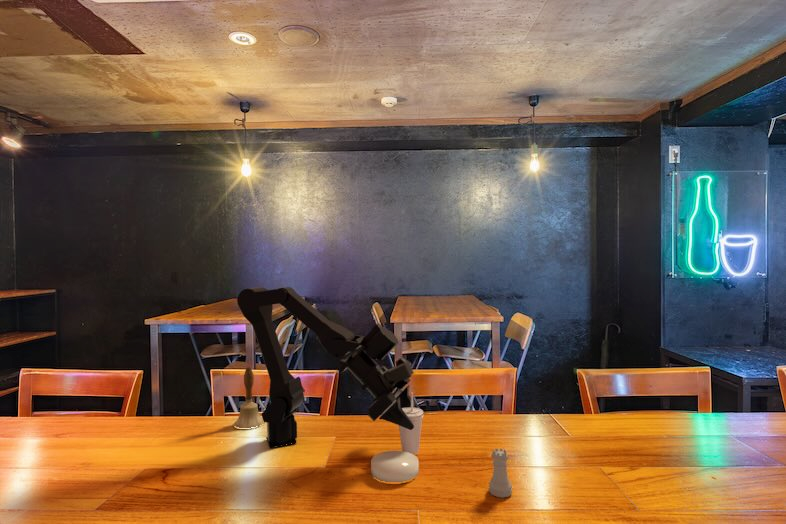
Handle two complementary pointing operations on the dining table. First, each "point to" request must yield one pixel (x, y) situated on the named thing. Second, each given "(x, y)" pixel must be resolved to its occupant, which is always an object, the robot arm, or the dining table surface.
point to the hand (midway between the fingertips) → (415, 423)
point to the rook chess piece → (500, 475)
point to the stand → (394, 466)
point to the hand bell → (248, 405)
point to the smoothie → (412, 437)
